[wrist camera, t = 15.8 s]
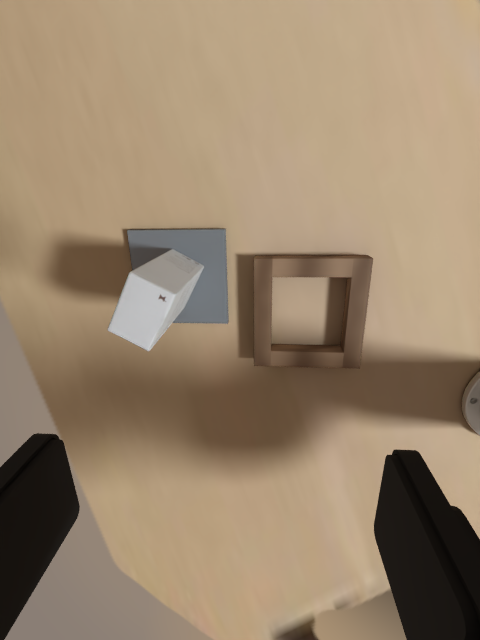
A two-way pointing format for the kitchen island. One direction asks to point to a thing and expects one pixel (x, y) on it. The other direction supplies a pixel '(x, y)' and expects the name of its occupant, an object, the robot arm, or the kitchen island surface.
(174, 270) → the skincare box
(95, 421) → the kitchen island surface
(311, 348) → the pocket holder
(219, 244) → the slate mat
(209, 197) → the kitchen island surface
